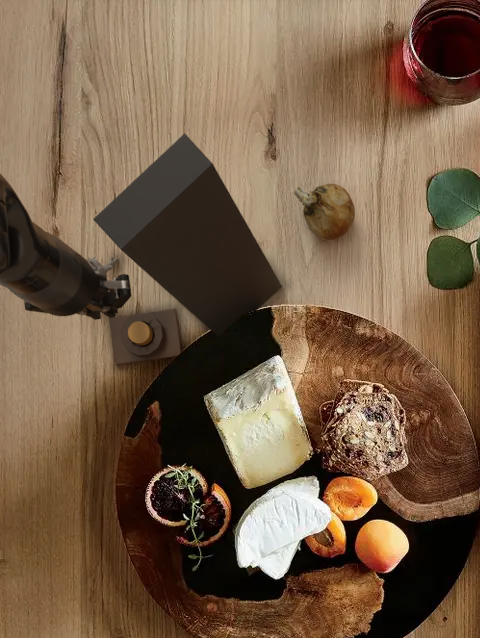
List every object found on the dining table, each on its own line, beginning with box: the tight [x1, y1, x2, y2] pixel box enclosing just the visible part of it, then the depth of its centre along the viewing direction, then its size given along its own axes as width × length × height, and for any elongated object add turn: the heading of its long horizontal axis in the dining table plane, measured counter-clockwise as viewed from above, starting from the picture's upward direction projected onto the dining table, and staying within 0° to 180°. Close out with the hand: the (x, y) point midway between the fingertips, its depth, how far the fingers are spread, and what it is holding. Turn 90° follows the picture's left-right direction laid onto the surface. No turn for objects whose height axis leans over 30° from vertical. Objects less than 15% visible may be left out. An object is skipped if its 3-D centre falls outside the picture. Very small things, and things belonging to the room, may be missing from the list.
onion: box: [293, 183, 356, 242], centre depth 118 cm, size 8×8×8 cm
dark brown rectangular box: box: [92, 133, 283, 338], centre depth 100 cm, size 16×12×44 cm
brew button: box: [128, 321, 153, 345], centre depth 120 cm, size 3×3×2 cm
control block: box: [108, 308, 183, 366], centre depth 121 cm, size 10×7×2 cm
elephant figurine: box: [86, 254, 120, 279], centre depth 120 cm, size 10×6×9 cm
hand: (105, 310), depth 106 cm, fingers closed
